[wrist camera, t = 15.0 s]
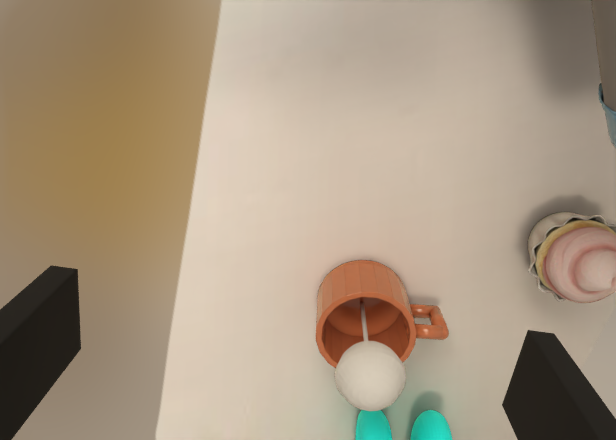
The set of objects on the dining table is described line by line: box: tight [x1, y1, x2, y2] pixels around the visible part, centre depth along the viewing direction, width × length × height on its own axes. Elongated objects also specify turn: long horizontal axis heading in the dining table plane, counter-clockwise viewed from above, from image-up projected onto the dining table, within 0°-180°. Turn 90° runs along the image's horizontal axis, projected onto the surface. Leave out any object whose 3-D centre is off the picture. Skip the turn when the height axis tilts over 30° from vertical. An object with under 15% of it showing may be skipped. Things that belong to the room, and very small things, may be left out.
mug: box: [316, 260, 449, 368], centre depth 53 cm, size 13×10×7 cm
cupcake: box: [528, 212, 616, 303], centre depth 48 cm, size 9×9×10 cm
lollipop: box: [335, 302, 406, 411], centre depth 48 cm, size 6×6×15 cm
